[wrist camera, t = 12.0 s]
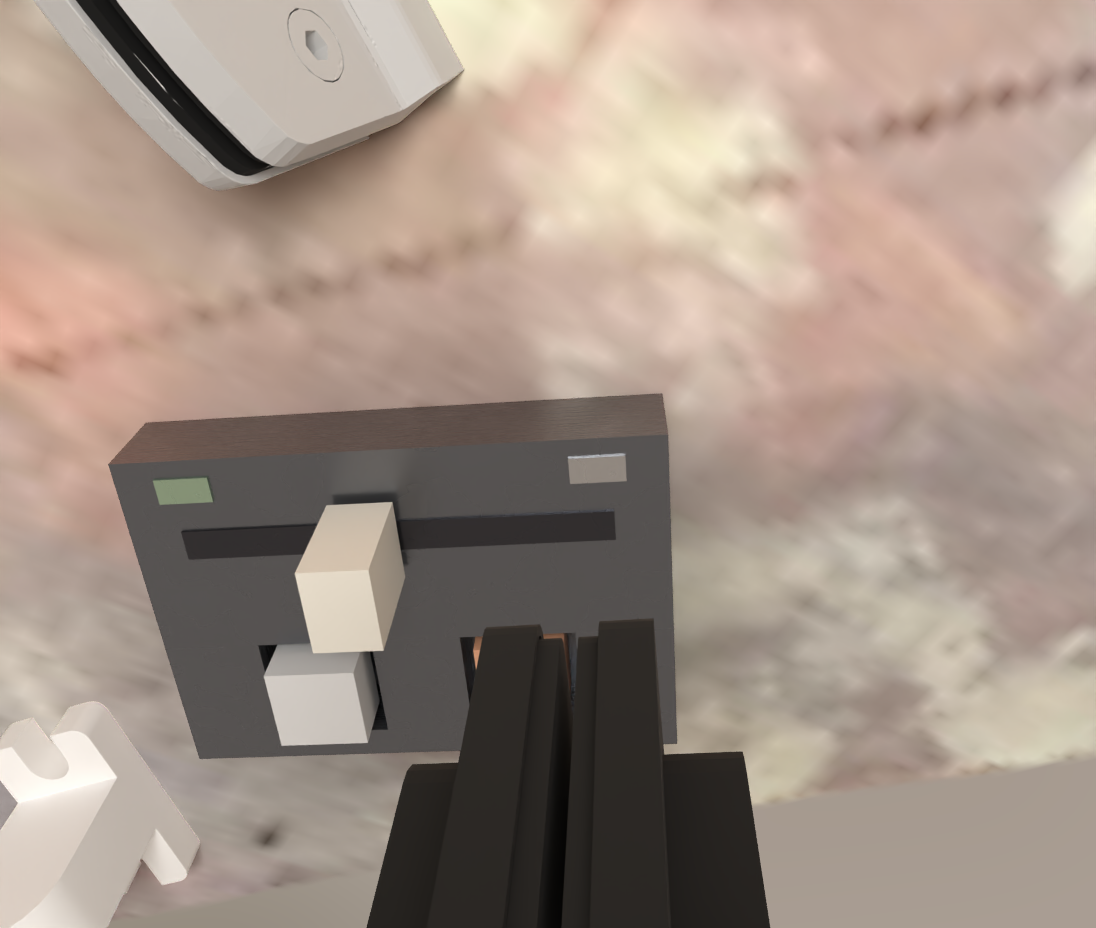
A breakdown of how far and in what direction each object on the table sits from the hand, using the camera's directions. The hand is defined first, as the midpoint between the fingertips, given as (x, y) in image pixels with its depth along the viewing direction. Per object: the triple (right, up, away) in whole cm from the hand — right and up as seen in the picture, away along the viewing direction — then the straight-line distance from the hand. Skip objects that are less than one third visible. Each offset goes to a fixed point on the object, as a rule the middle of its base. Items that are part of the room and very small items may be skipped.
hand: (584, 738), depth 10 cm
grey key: (-9, -6, +32) cm, 34 cm away
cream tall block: (-7, 0, +27) cm, 28 cm away
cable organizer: (-21, -13, +39) cm, 46 cm away
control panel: (-5, -1, +32) cm, 33 cm away
